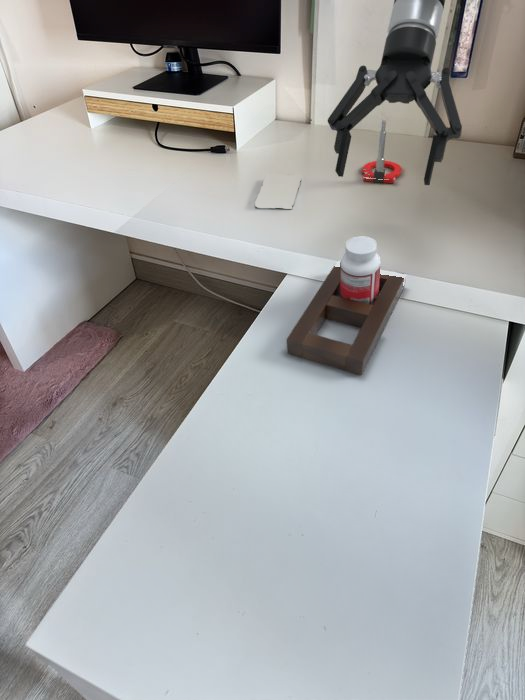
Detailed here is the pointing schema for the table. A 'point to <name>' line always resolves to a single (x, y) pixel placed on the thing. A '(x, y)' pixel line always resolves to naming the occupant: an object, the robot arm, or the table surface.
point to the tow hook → (381, 163)
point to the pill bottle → (360, 270)
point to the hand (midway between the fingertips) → (381, 178)
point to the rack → (347, 312)
